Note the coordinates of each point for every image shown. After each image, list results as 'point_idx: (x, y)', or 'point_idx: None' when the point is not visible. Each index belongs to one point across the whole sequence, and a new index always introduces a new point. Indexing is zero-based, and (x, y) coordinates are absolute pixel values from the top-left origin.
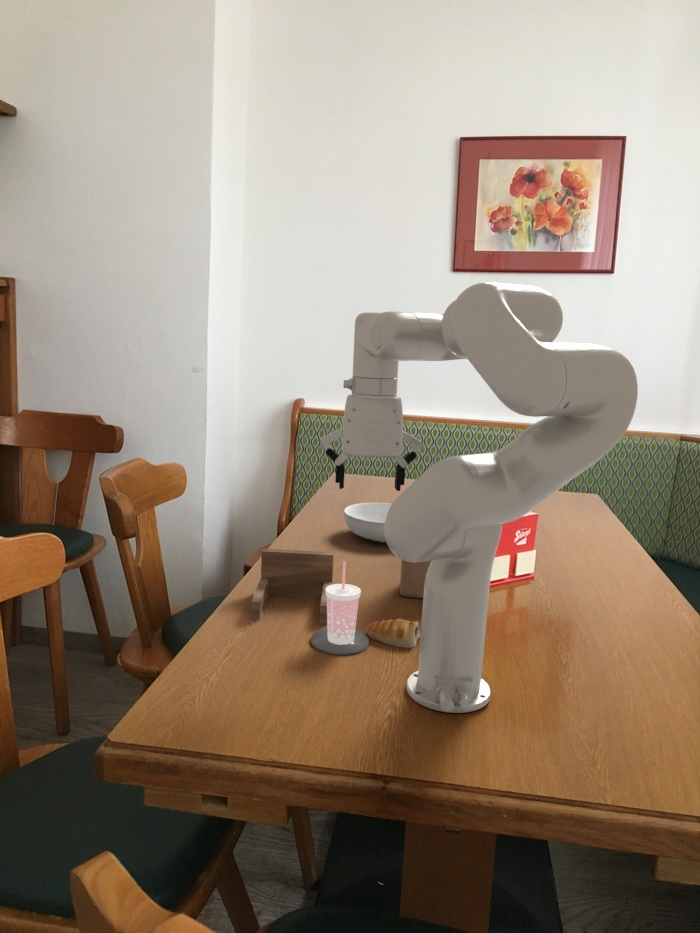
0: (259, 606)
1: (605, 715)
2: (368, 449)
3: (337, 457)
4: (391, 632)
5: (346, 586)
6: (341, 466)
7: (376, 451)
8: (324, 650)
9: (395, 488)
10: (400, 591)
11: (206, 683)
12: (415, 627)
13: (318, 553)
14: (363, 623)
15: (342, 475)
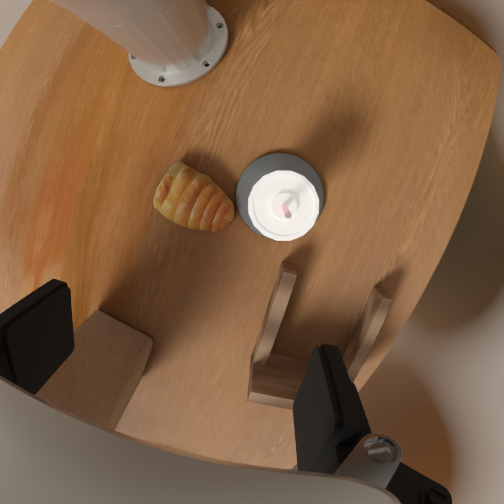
0: (380, 294)
1: (57, 22)
2: (122, 494)
3: (390, 476)
4: (202, 178)
5: (271, 227)
6: (358, 424)
7: (41, 439)
8: (310, 166)
9: (70, 313)
10: (151, 342)
11: (452, 121)
12: (163, 177)
13: (275, 399)
14: (227, 257)
15: (338, 385)
